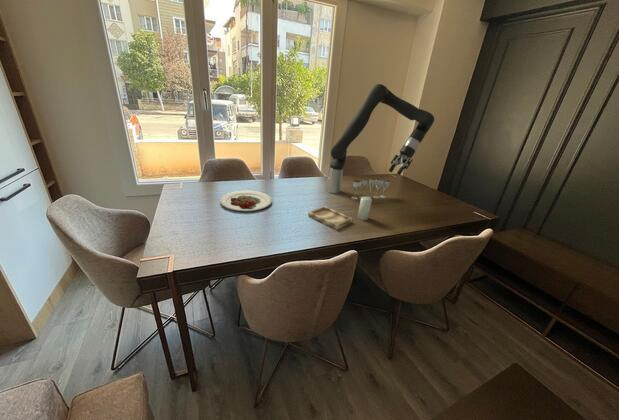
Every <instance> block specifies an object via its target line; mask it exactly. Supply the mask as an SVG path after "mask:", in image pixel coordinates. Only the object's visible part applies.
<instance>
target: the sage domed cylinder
mask: <svg viewBox="0 0 619 420" xmlns="http://www.w3.org/2000/svg"><path fill="white" fill-rule="evenodd" d="M360 197H361V198H360V201H359V207H358V213H357V219H358V220H361V221H368V220H369V216H370V211H371V207H372V201H373V199H372V198H369V197H366V196H360Z"/></svg>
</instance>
